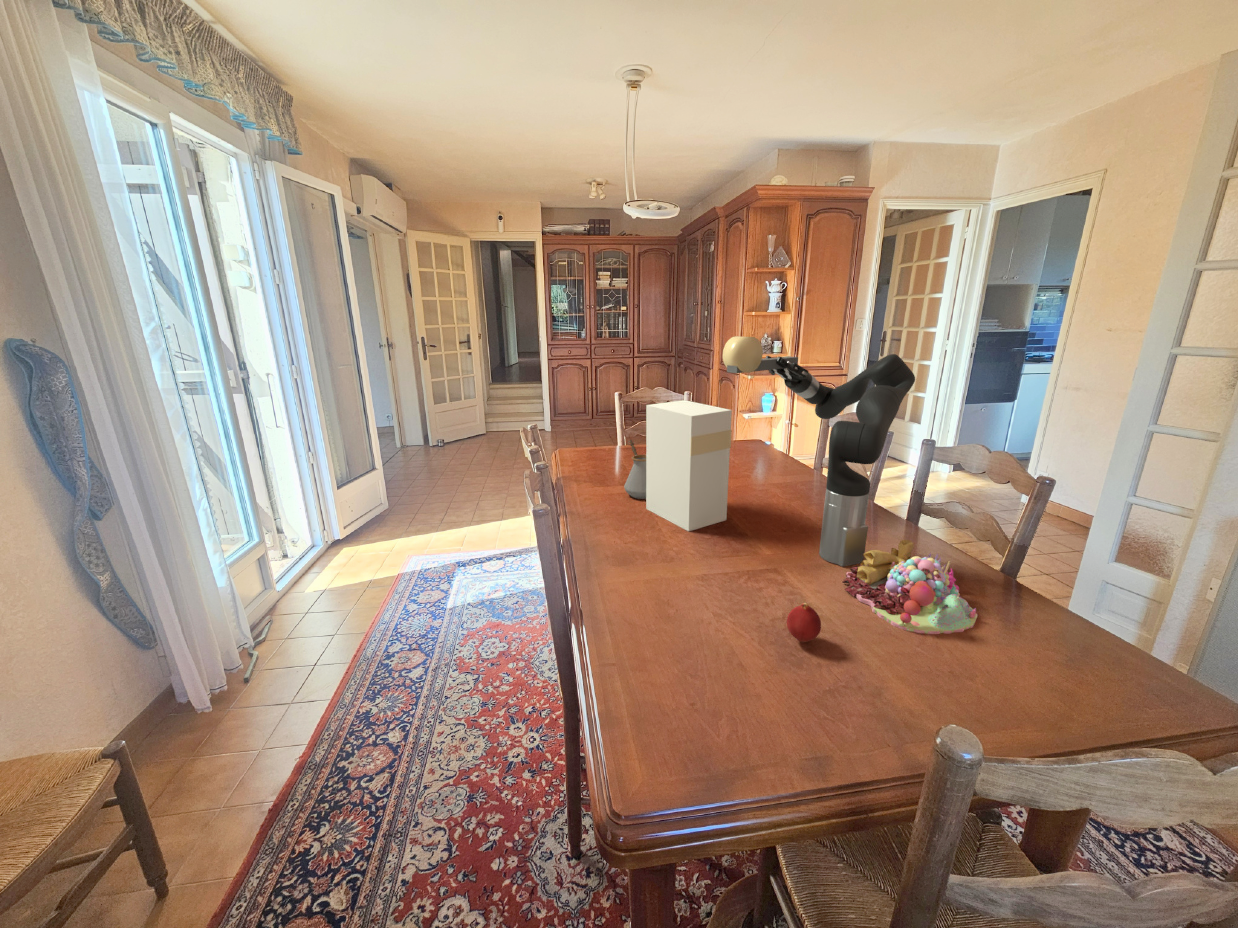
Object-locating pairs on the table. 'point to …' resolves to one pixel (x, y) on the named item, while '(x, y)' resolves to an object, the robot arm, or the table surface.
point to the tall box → (687, 462)
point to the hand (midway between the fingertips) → (772, 359)
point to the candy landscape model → (910, 591)
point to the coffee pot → (637, 476)
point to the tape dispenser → (749, 356)
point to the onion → (804, 623)
